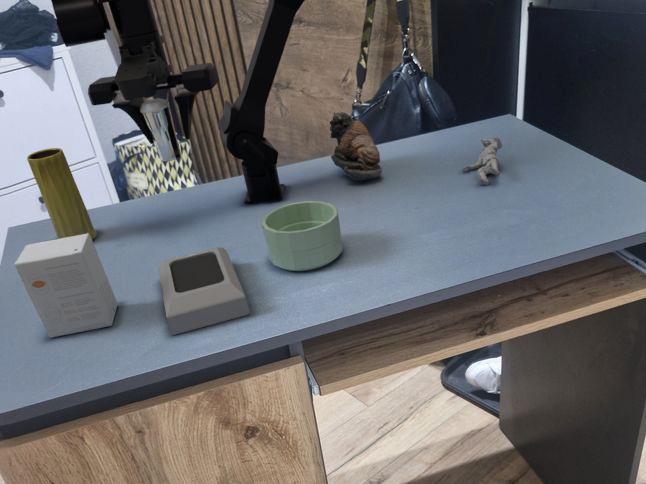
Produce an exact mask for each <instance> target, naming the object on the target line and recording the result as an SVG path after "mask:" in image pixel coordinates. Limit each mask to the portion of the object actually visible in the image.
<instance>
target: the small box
mask: <svg viewBox="0 0 646 484" xmlns="http://www.w3.org/2000/svg"><path fill="white" fill-rule="evenodd" d="M13 266H14V268H15V270H16V272H17V275H18V276H19V278H20V280H21V282H22V284H23V286H24V288H25V290H26V293H27V295H28V297H29V299H30V301H31V303H32V305H33V307H34V309H35V311H36V313H37V315H38V317H39V319H40V322H41V323H42V325H43V327H44V329H45V332H46V333H47V335H48V337H49V338H50V339H51V338H57V337H62V336H67V335H72V334H78V333H82V332H87V331H92V330H98V329H104V328H107V327H111V326H113V323H114V320H115V315H116V311H117V308H118V306H119V305H118V304H119V303H118V300H117V298H116V296H115V293H114V290H113V288H112V286H111V283H110V281H109V278H108V276H107V273H106V271H105V268H104V266H103V264H102V261H101V259H100V256H99V253H98V250H97V249H96V246H95V244H94V240H92V239H91V236H90V234H89V233H87V234H82V235H77V236H72V237H66V238H61V239H58V238H57V239H51V240H46V241H45V240H44V241H41V242H34V243H29V244H26V245H25V246H24V248H23V249H22V251H21V253H20V254H19V256H18V257H17V259H16V261H15V262H14V264H13Z"/></svg>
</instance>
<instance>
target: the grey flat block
mask: <svg viewBox="0 0 646 484" xmlns="http://www.w3.org/2000/svg"><path fill="white" fill-rule="evenodd" d="M157 271H158V277H159V282H160V288H161V294H162V299H163V306H164V311H165V316H166V320H167V323H168V327H169V330H170V333H171V335H172V336H175V335H179V334H183V333H186V332H191V331H194V330H198V329H201V328H204V327H208V326H212V325H216V324H220V323H223V322H227V321H230V320H234V319H238V318H241V317H246V316H249V315H251V312H250V308H249V303H248V301H247V296H246V294H245V292H244V290H243V287H242V283H241V282H240V279H239V277H238V275H237V272H236V269H235V267H234V265H233V263H232V260H231V258H230V255H229V253H228V251H227V250H226V249H225V248H224V247H213V248H210V249H205V250H201V251H196V252H193V253H189V254H184V255H181V256H177V257H173V258H169V259H165V260H163V261H161V262H160V263H159V264H158V266H157Z"/></svg>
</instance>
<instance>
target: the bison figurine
mask: <svg viewBox="0 0 646 484" xmlns="http://www.w3.org/2000/svg"><path fill="white" fill-rule="evenodd" d="M329 124H330V127H329V130H330V138H331V139H335V140H336V142H337V145H336V146H335V148H334V151H333V154H331V155H330V158H331V160H332V162H333V164H334V165H335V166H337V167H338V168H339V169H341V170H343V171H344V173H345V175H346V176H348V177H350V178H351V179H352V180H354V181H359V182H360V181H369V180H370V181H371V180H372V179H377V178H379V177H380V176H381V174H382V173H383V168H382V167H381V166H380V165H379V164H380V162H381V155H380V151H379V149H378V147H377V145H375V143H374V140H373V138H372V136H371V134H370V132H369V130H368V128H367V127H366V126H365V125H364V124H363V123H362V122H361V121H360V120H353V119H352V117H351V116H350V115H349V114H348V113H346V112H344V111H341V112H336V111H333V116H332V120H330V121H329Z"/></svg>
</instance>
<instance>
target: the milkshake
mask: <svg viewBox="0 0 646 484" xmlns="http://www.w3.org/2000/svg"><path fill="white" fill-rule="evenodd" d="M171 110H172V109H171V106H170V103H169V90H168V91H166V99H165V98H160V97H157V98H153V99H146V100H145V101H144V103H142V104H141V106H140V112H141V115H142V117H143V119H144V121H145V123H146V126H147V128H148V130H149V133H150V135H151V137H152V140H153V142H154V146H155V149H156V151H157V154H158V156H159V158H160V161H162V162H171V161H175V160H177V159H179V158H181V156H182V151H181V149H180V144H179V140H178V136H177V132H176V128H175V124H174V119H173V115H172V111H171Z"/></svg>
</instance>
